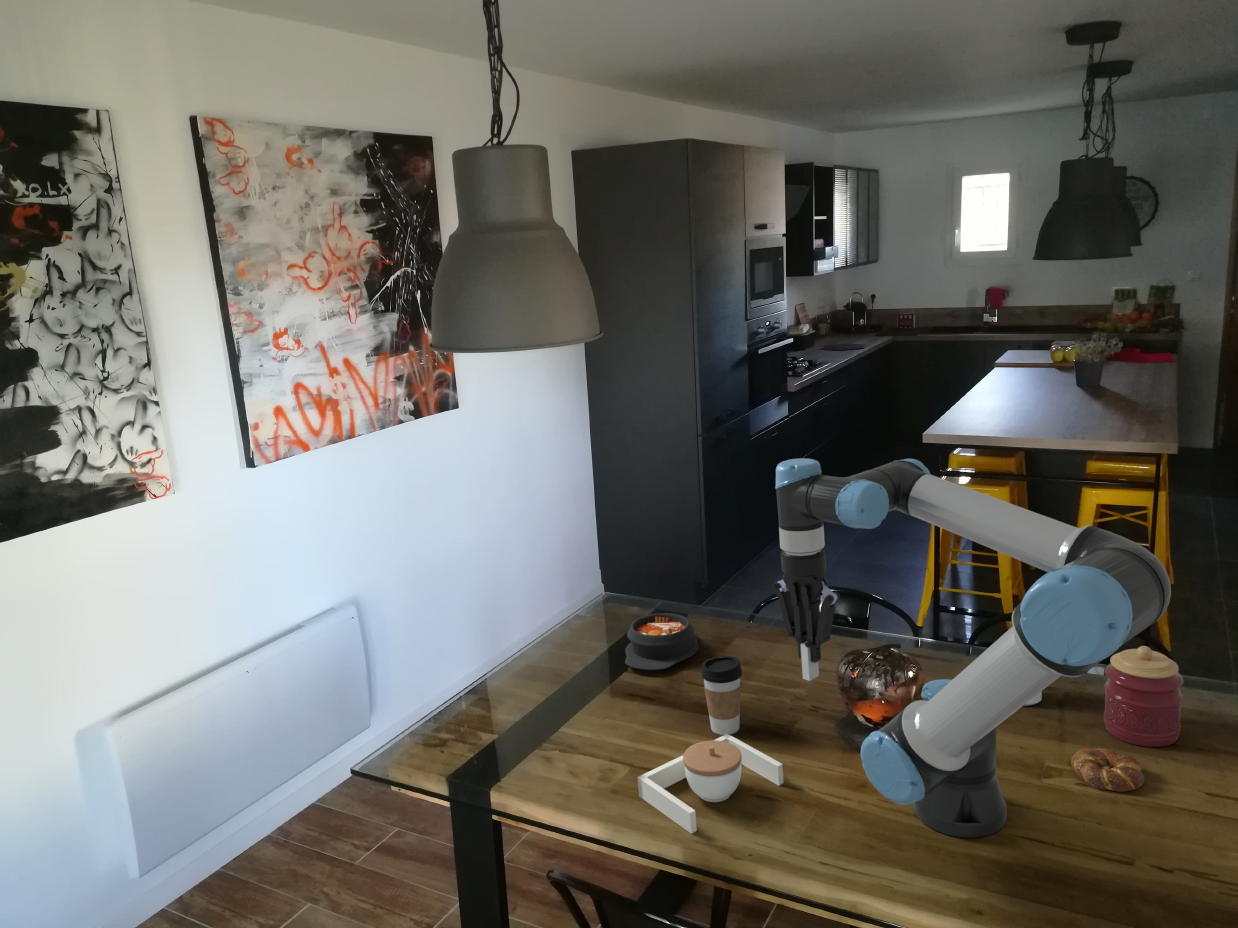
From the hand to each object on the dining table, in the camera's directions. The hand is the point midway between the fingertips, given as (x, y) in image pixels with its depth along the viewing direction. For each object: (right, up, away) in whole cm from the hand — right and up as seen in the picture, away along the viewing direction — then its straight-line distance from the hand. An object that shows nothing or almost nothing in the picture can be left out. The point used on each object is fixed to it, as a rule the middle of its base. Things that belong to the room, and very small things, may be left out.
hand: (810, 676), depth 158 cm
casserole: (-23, -11, +69) cm, 73 cm away
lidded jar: (-16, -24, +9) cm, 30 cm away
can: (+52, -13, +32) cm, 62 cm away
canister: (+68, -15, +16) cm, 71 cm away
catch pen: (-17, -23, +9) cm, 30 cm away
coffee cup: (-11, -18, +31) cm, 38 cm away
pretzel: (+54, -19, +3) cm, 57 cm away
